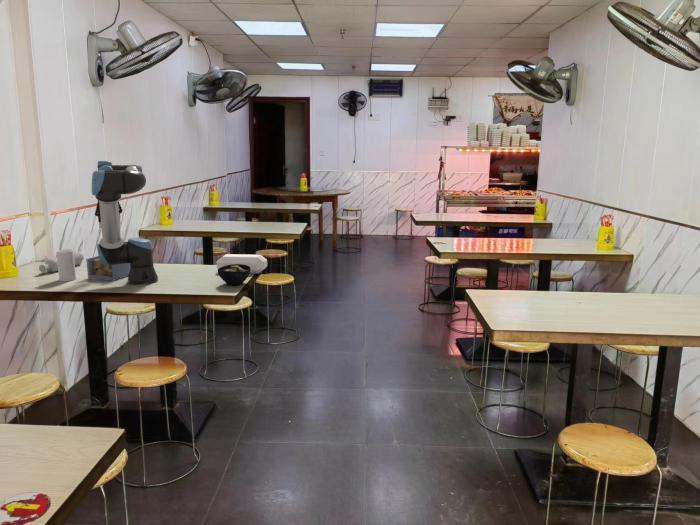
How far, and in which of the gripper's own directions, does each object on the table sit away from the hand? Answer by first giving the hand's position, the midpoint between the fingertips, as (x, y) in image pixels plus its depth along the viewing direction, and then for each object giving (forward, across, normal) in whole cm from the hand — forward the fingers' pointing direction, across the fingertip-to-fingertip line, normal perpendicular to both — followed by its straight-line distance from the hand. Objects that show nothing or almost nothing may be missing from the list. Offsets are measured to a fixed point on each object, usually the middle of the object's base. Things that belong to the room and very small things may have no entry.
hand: (110, 226), depth 308 cm
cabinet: (+27, +9, +5) cm, 29 cm away
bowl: (+26, +6, +80) cm, 84 cm away
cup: (+27, +22, -12) cm, 37 cm away
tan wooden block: (+27, +13, +5) cm, 30 cm away
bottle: (+27, +2, -35) cm, 45 cm away
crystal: (+27, -22, +71) cm, 79 cm away
